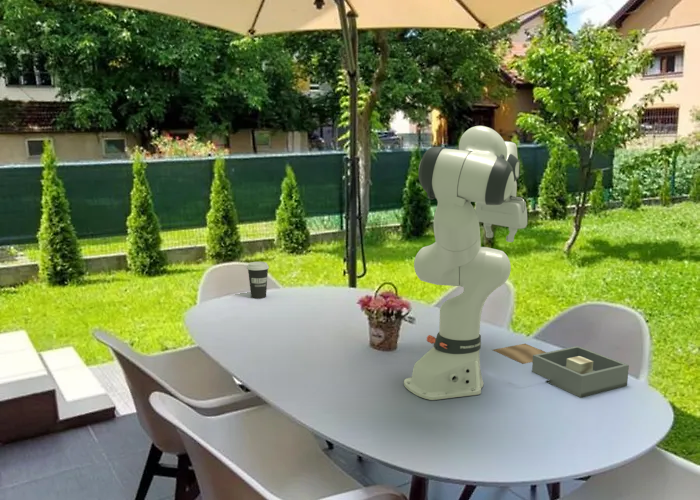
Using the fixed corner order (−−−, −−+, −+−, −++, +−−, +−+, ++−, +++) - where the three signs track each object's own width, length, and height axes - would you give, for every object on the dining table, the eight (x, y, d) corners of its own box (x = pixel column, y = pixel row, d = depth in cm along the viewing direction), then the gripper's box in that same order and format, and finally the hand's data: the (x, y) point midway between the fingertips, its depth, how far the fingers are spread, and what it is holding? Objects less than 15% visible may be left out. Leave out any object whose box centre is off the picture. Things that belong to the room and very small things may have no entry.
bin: (580, 397, 159) (582, 376, 158) (531, 374, 175) (533, 355, 174) (627, 385, 167) (628, 365, 166) (576, 364, 183) (577, 345, 182)
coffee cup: (244, 299, 260) (243, 265, 258) (251, 293, 269) (250, 261, 267) (265, 300, 259) (265, 265, 256) (272, 294, 268) (271, 261, 265)
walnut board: (522, 367, 181) (522, 363, 181) (491, 352, 193) (492, 349, 193) (556, 359, 187) (556, 356, 187) (524, 346, 200) (525, 343, 199)
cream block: (579, 381, 168) (580, 364, 167) (565, 375, 172) (566, 358, 171) (592, 378, 170) (593, 361, 169) (578, 372, 174) (579, 355, 173)
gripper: (533, 197, 176) (531, 243, 178) (488, 192, 194) (486, 234, 196) (517, 198, 173) (514, 245, 175) (472, 192, 191) (470, 235, 193)
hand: (499, 239), depth 186 cm, fingers open, 8 cm apart
